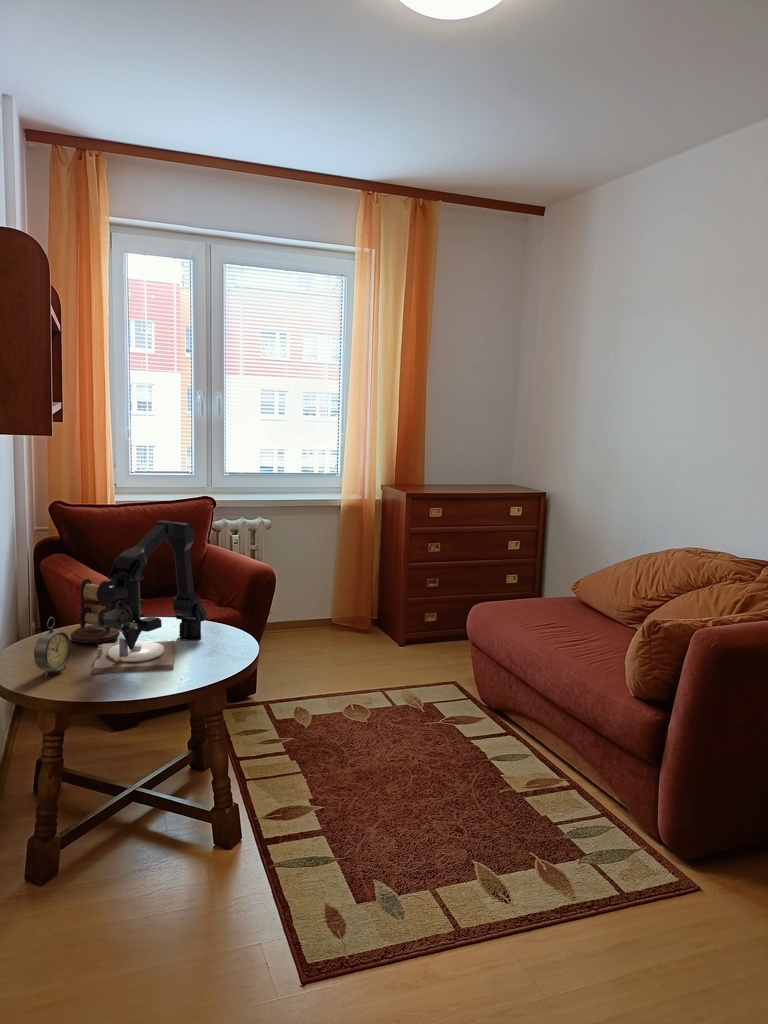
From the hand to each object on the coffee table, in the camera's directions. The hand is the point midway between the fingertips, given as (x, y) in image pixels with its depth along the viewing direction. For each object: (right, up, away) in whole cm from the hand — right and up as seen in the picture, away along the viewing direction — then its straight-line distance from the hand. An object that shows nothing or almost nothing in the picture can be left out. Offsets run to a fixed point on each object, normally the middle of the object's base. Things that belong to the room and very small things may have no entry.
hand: (131, 649), depth 210 cm
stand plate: (-1, -4, +7) cm, 9 cm away
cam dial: (-1, -2, +6) cm, 7 cm away
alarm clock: (-20, -6, -7) cm, 22 cm away
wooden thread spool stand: (-20, -2, +23) cm, 30 cm away
